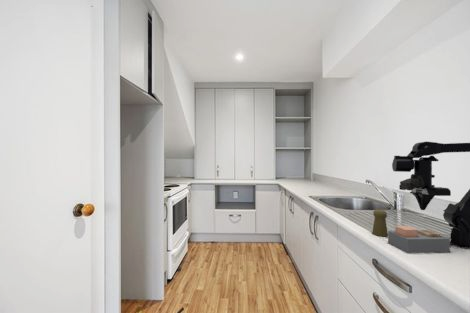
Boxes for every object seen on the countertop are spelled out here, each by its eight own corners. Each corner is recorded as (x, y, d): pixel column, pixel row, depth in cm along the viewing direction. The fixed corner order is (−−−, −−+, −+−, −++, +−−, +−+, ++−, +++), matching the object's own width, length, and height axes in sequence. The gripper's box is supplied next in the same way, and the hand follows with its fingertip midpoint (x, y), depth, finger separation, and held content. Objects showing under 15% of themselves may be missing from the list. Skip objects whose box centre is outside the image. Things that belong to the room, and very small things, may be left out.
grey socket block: (425, 242, 95) (425, 230, 95) (449, 252, 85) (449, 238, 85) (388, 243, 94) (388, 230, 94) (407, 253, 84) (407, 239, 84)
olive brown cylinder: (380, 237, 101) (380, 211, 101) (368, 233, 107) (369, 208, 107) (391, 236, 102) (391, 211, 103) (379, 232, 108) (379, 208, 108)
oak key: (428, 244, 92) (428, 230, 92) (440, 249, 87) (440, 234, 87) (417, 244, 92) (417, 230, 92) (428, 249, 87) (428, 234, 87)
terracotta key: (407, 240, 92) (407, 226, 92) (417, 245, 87) (417, 229, 87) (395, 240, 91) (395, 226, 91) (405, 245, 87) (405, 229, 87)
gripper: (388, 170, 105) (387, 205, 105) (423, 173, 87) (423, 215, 87) (411, 171, 106) (411, 205, 106) (452, 173, 87) (451, 215, 87)
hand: (422, 209), depth 96 cm, fingers closed
